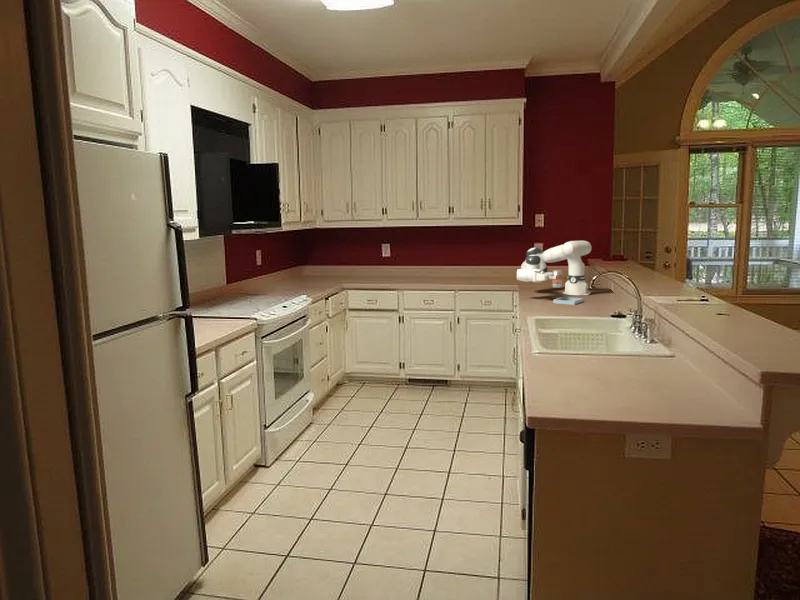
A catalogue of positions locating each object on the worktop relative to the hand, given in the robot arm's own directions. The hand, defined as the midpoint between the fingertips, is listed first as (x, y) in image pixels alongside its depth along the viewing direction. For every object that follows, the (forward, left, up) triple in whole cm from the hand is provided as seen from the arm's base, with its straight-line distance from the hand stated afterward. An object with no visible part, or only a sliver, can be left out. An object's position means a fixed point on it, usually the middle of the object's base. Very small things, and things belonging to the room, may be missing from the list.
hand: (558, 276), depth 380 cm
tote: (+2, +8, -17) cm, 19 cm away
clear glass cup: (0, -1, -7) cm, 7 cm away
